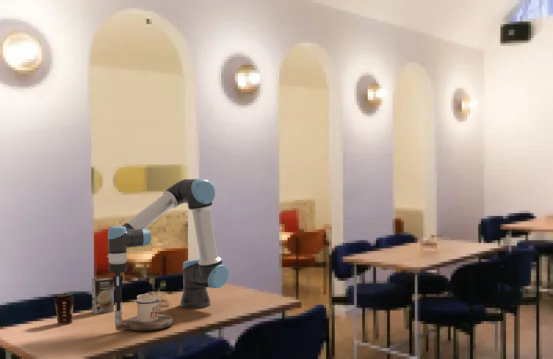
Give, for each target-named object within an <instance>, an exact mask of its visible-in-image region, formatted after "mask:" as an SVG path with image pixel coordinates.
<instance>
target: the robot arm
mask: <svg viewBox="0 0 553 359" xmlns="http://www.w3.org/2000/svg"><path fill="white" fill-rule="evenodd" d="M215 197H216V189H215V186H214V185H213V184H212V182H211V181H209V180H207V179H203V178H192V179H191V178H188V179H187V178H184V179H182V180H180V181H177V182H176V183H174V184H172V185H170V187H168V188H167V189H165V190H164V191H163V193H162V195H161V196H159V197H158V198H157V199H155V201H152V203H151V204H149V205H148V206H146V207H144V209H142V210H141V211H140V212H138V213H137V214H136V215H135V216H133V217H132V218H130V219H129V220H128V221H126V222H125V223H124V224H122V225H120V226H110V227H109V228H108V231H107V241H108V242H107V244H108V245H107V246H108V248H107V249H108V255H106V257H107V258H108V263H109V264H108V272H109V273H111V274H114V275H113V276H112V279H113V281H114V312H115V311H116V310H117V311H120V310H122V311H123V302H124V299H122V298H123V297H122V287H123V281H124V280H123V279H124V277H123V275H122V273H126V272H127V270H128V264H127V261H128V256H127V255H128V254H127V252H128V251H127V249H129V248H136V247H145V246H149V245H150V244H151V242H152V233H151V231H150V230H149V229H148V227H149V226H150V225H152V224H153V223H154V222H156V221H157V220H158V219H160V218H161V217H162V216H164V214H166V213H167V212H168V211H170V210H171V209H172V208H173V209H175V208H177V207H178V206H180V205H183V204H187V208H188V210H189V211H191V212H192V218H193V223H194V229H195V235H196V241H197V246H198V252H199V259H190V260H185V261H184V262H183V263H182V280H183V281H182V282H183V285H182V286H183V290H182V295H181V298H180V307H181V308H183V309H201V308H207V307H210V306H211V298H210V295H209V292H208V288H210V289H221V288H223V287H224V286H225V285H226V283H227V282H228V280H229V276H230V274H229V269H228V267H227V266H226V265H224V264H223V259H222V257H221V256H219V254H218V248H217V242H216V237H215V230H214V225H213V219H212V214H211V213H212V212H211V208H212V206H213V201H214V199H215ZM206 306H207V307H206Z"/></svg>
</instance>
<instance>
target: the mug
mask: <svg viewBox="0 0 553 359" xmlns="http://www.w3.org/2000/svg"><path fill="white" fill-rule="evenodd" d="M145 294H146V293H144V294H138V295H137V296H136V301H137V300H138V299H140V298H142V297H143V296H145ZM148 294H149V296H152V297H154V298H157V300H158V301H157V302H158V304H159V305H158V306H157V312H158V311H160V309H161V307H162V304H163V302H162V300H161V298H160V297H157V296H156V294H153V293H148Z"/></svg>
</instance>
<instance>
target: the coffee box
mask: <svg viewBox="0 0 553 359" xmlns="http://www.w3.org/2000/svg"><path fill="white" fill-rule="evenodd" d="M114 301H115V287H114V281H113V277H103V278H102V277H100V278H92V279H91V313H93V314H95V315H98V314H106V313H112V311H114V312H115V303H114Z"/></svg>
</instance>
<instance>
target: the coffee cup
mask: <svg viewBox="0 0 553 359" xmlns="http://www.w3.org/2000/svg"><path fill="white" fill-rule="evenodd" d="M74 299H75V296H74V295H73V293H67V292H66V293H65V292H64V293H58V294H56V295H55V298H54V299H53V301H54V306H55V312H56V320H57V325H58V324H59V326H63V325H64V326H65V325H69V324H72V323H73V316H74V315H73V314H74V313H73V312H74Z"/></svg>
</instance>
